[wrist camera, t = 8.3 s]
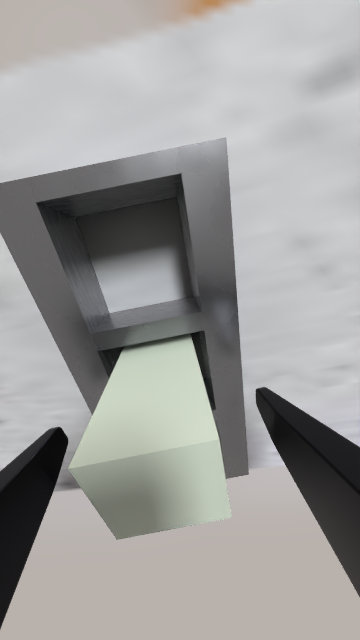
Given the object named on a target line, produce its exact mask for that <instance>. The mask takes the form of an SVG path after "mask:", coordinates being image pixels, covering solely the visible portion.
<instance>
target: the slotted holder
mask: <svg viewBox="0 0 360 640" xmlns="http://www.w3.org/2000/svg"><path fill="white" fill-rule="evenodd" d="M173 197H177V198H178V204H179V210H180V217H181V223H182V229H183V235H184V242H185V248H186V254H187V260H188V267H189V273H190V279H191V285H192V292H193V297H191V298H186V299H180V300H175V301H170V302H165V303H160V304H155V305H150V306H145V307H140V308H135V309H130V310H124V311H119V312H114V313H109V311H108V309H107V306H106V303H105V300H104V297H103V294H102V292H101V289H100V286H99V283H98V280H97V277H96V275H95V272H94V269H93V266H92V263H91V260H90V258H89V255H88V252H87V249H86V246H85V243H84V241H83V238H82V235H81V232H80V229H79V227H78V224H77V221H76V218H75V217H78V216H83V215H88V214H93V213H98V212H103V211H108V210H113V209H118V208H123V207H128V206H133V205H138V204H143V203H148V202H153V201H158V200H163V199H168V198H173ZM0 233H1V235H2V237H3V239H4V241H5V243H6V245H7V247H8V249H9V251H10V253H11V255H12V257H13V259H14V261H15V263H16V265H17V267H18V269H19V270H20V272H21V274H22V276H23V278H24V280H25V282H26V284H27V286H28V288H29V290H30V292H31V294H32V296H33V298H34V300H35V302H36V304H37V306H38V308H39V310H40V312H41V314H42V316H43V318H44V320H45V322H46V324H47V326H48V328H49V330H50V332H51V334H52V336H53V338H54V340H55V342H56V344H57V346H58V348H59V350H60V352H61V354H62V356H63V358H64V360H65V362H66V364H67V366H68V368H69V370H70V371H71V373H72V375H73V377H74V379H75V381H76V383H77V385H78V387H79V389H80V391H81V393H82V395H83V397H84V399H85V401H86V403H87V405H88V407H89V409H90V411H91V413H92V415H93V413H94V411H95V409H96V407H97V405H98V402H99V400H100V398H101V396H102V394H103V392H104V389H105V387H106V385H107V383H108V381H109V378H110V376H111V374H112V372H113V370H114V368H115V365H116V363H117V361H118V359H119V357H120V354H121V352H122V348H121V347H122V346H127V345H132V344H137V343H142V342H147V341H152V340H157V339H163V338H168V337H173V336H178V335H183V334H188V333H193V332H198V331H199V335H200V342H201V348H202V354H203V360H204V367H205V373H206V378H203V381H204V385H205V389H206V392H207V396H208V400H209V403H210V407H211V410H212V414H213V418H214V421H215V425H216V429H217V432H218V436H219V440H220V446H221V452H222V458H223V465H224V471H225V477H226V479H227V478H232V477H238V476H243V475H248V474H249V473H248V457H247V442H246V427H245V412H244V397H243V382H242V367H241V352H240V336H239V321H238V306H237V291H236V276H235V261H234V246H233V231H232V216H231V201H230V186H229V171H228V156H227V141H226V138H221V139H216V140H211V141H207V142H202V143H197V144H192V145H187V146H182V147H177V148H172V149H167V150H162V151H157V152H152V153H147V154H142V155H137V156H132V157H127V158H122V159H118V160H113V161H108V162H103V163H98V164H93V165H88V166H83V167H78V168H73V169H68V170H63V171H58V172H53V173H48V174H43V175H38V176H34V177H29V178H24V179H19V180H14V181H9V182H4V183H0Z"/></svg>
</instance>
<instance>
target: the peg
mask: <svg viewBox="0 0 360 640" xmlns="http://www.w3.org/2000/svg"><path fill="white" fill-rule="evenodd" d="M68 470H69V471H70V473H71V474H72V476H73V477H74V478H75V480H76V481H77V483H78V484H79V486H80V487H81V488H82V490H83V491H84V493H85V494H86V496H87V497H88V499H89V500H90V501H91V503H92V504H93V506H94V507H95V508H96V510H97V511H98V513H99V514H100V516H101V517H102V518H103V520H104V521H105V523H106V524H107V526H108V527H109V529H110V530H111V532H112V533H113V534H114V536H115V537H116V539H117V540H118V539H123V538H128V537H133V536H139V535H144V534H149V533H154V532H160V531H164V530H170V529H175V528H180V527H186V526H190V525H196V524H201V523H206V522H211V521H217V520H222V519H227V518H232V515H231V508H230V502H229V496H228V489H227V483H226V477H225V471H224V465H223V458H222V452H221V446H220V440H219V436H218V432H217V429H216V425H215V421H214V418H213V414H212V410H211V407H210V403H209V400H208V396H207V392H206V389H205V385H204V381H203V378H202V374H201V370H200V367H199V363H198V360H197V356H196V352H195V349H194V345H193V341H192V338H191V334H190V333H188V334H183V335H178V336H173V337H168V338H163V339H157V340H152V341H147V342H142V343H137V344H132V345H127V346H124V348H123V350H122V352H121V354H120V357H119V359H118V361H117V363H116V365H115V368H114V370H113V372H112V374H111V376H110V378H109V381H108V383H107V385H106V387H105V389H104V392H103V394H102V396H101V398H100V400H99V402H98V405H97V407H96V409H95V411H94V413H93V415H92V418H91V420H90V422H89V424H88V426H87V429H86V431H85V433H84V435H83V437H82V439H81V442H80V444H79V446H78V448H77V450H76V453H75V455H74V457H73V459H72V461H71V463H70V466H69V468H68Z"/></svg>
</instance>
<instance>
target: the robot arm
mask: <svg viewBox="0 0 360 640" xmlns="http://www.w3.org/2000/svg"><path fill="white" fill-rule="evenodd" d="M256 404H257V407H258V410H259V412H260V414H261V416H262V419H263V421H264V423H265V425H266V428H267V430H268V432H269V434H270V437H271V439H272V441H273V443H274V445H275V447H276V449H277V451H278V452H279V454H280V456H281V458H282V460H283V461H284V463H285V465H286V467H287V468H288V470H289V472H290V474H291V475H292V477H293V479H294V481H295V483H296V484H297V486H298V488H299V490H300V492H301V493H302V495H303V497H304V499H305V500H306V502H307V504H308V506H309V507H310V509H311V511H312V513H313V515H314V516H315V518H316V520H317V522H318V524H319V525H320V527H321V529H322V531H323V533H324V534H325V536H326V538H327V540H328V541H329V543H330V545H331V547H332V548H333V550H334V552H335V554H336V555H337V557H338V559H339V561H340V563H341V565H342V566H343V568H344V570H345V572H346V573H347V575H348V577H349V579H350V581H351V582H352V584H353V586H354V588H355V589H356V591H357V593H358V595H359V597H360V447H359V446H357V445H356V444H354V443H352V442H351V441H349V440H348V439H346V438H345V437H343V436H341V435H340V434H338V433H337V432H335V431H334V430H332V429H330V428H329V427H327V426H326V425H324V424H323V423H321V422H319V421H318V420H316V419H315V418H313V417H312V416H310V415H309V414H307V413H305V412H304V411H302V410H301V409H299V408H298V407H296V406H294V405H293V404H291V403H290V402H288V401H287V400H285V399H283V398H282V397H280V396H279V395H277V394H276V393H274V392H272V391H271V390H269V389H268V388H266V387H262V388H257V389H256ZM67 446H68V438H67V436H66V434H65V433H64V431H63V430H62V428H61V427H55V428H51V429H49V430H48V431H46V432H45V433H44V434H43V435H42V436H41V437H40V438H38V439H37V440H36V441H35V442H34V443H33V444H31V445H30V446H29V447H28V448H27V449H26V450H25V451H23V452H22V453H21V454H20V455H19V456H18V457H16V458H15V459H14V460H13V461H12V462H11V463H10V464H8V465H7V466H6V467H5V468H4V469H3V470H1V471H0V629H1V626H2V623H3V621H4V618H5V615H6V613H7V610H8V608H9V605H10V603H11V600H12V597H13V595H14V592H15V590H16V587H17V584H18V582H19V579H20V577H21V574H22V571H23V569H24V566H25V564H26V561H27V558H28V556H29V553H30V551H31V548H32V545H33V543H34V540H35V538H36V535H37V532H38V530H39V527H40V525H41V522H42V519H43V517H44V514H45V512H46V509H47V506H48V504H49V501H50V499H51V496H52V493H53V491H54V488H55V485H56V482H57V479H58V476H59V472H60V469H61V466H62V462H63V459H64V456H65V452H66V449H67Z"/></svg>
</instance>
